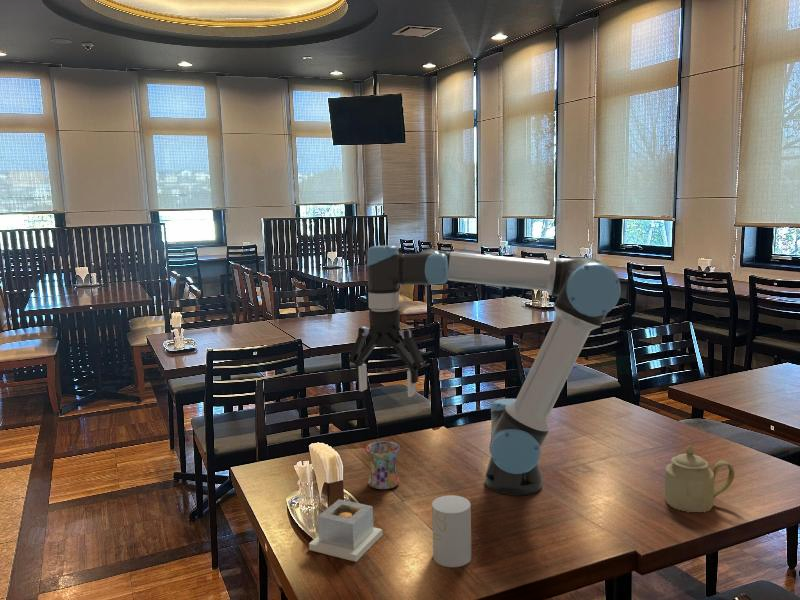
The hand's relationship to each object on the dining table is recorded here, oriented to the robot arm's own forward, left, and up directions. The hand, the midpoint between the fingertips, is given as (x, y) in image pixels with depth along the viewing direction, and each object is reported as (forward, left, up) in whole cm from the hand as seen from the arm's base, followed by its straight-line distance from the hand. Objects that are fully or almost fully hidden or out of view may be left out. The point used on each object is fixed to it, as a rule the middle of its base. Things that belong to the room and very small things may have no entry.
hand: (387, 392), depth 159 cm
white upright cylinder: (-24, +18, -29) cm, 42 cm away
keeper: (0, +22, -29) cm, 36 cm away
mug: (+7, -9, -29) cm, 31 cm away
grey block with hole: (0, +22, -27) cm, 35 cm away
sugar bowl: (-70, -29, -29) cm, 81 cm away
